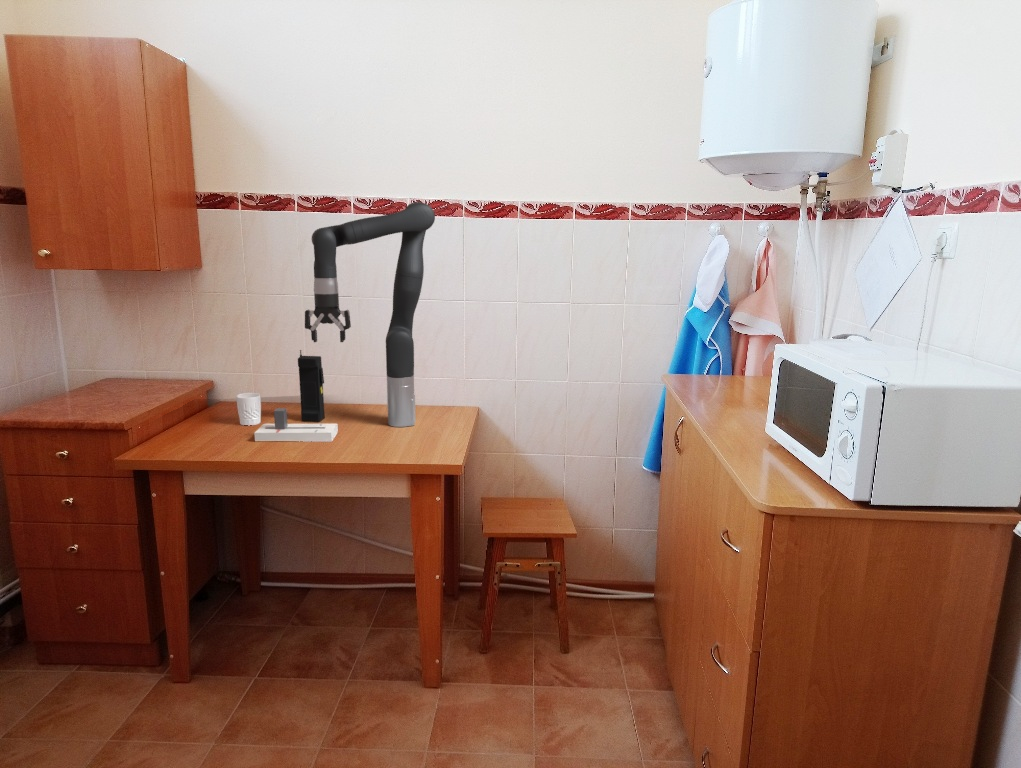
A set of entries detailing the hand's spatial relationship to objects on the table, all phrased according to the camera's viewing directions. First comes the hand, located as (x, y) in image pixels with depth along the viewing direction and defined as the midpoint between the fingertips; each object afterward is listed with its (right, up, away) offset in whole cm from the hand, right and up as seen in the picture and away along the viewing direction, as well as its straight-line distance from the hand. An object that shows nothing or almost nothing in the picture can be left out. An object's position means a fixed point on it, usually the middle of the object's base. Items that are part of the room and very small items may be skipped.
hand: (328, 341), depth 224 cm
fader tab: (-15, -28, -1) cm, 32 cm away
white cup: (-31, -27, +14) cm, 44 cm away
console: (-10, -31, 0) cm, 32 cm away
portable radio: (-10, -27, +19) cm, 34 cm away
